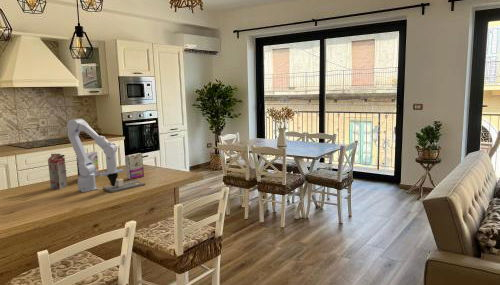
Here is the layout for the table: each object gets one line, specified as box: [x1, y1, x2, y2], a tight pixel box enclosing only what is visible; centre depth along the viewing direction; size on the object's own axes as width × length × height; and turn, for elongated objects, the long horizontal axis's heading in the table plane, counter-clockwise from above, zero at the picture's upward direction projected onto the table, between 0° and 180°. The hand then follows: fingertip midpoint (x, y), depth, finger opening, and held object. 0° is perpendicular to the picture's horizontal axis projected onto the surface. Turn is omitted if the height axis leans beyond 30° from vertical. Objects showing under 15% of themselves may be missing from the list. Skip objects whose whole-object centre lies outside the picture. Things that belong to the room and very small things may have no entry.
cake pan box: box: [75, 151, 100, 179], centre depth 248 cm, size 19×5×18 cm, turn 171°
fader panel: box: [102, 179, 146, 194], centre depth 225 cm, size 22×12×1 cm, turn 136°
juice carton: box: [47, 153, 68, 190], centre depth 226 cm, size 7×7×22 cm
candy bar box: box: [124, 152, 145, 180], centre depth 249 cm, size 11×5×16 cm, turn 143°
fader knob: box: [115, 178, 124, 187], centre depth 223 cm, size 3×4×4 cm
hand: (113, 185), depth 220 cm, fingers closed
